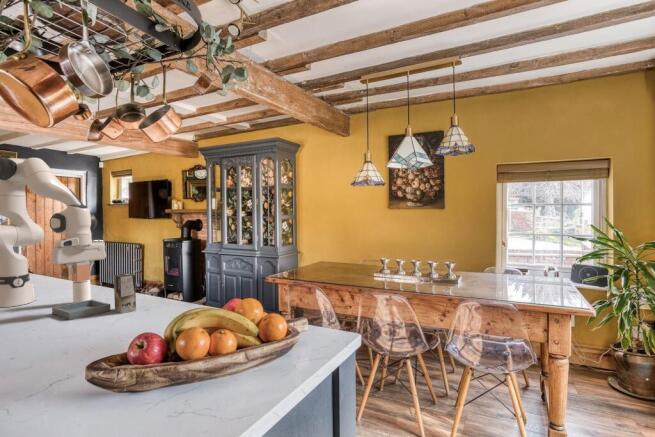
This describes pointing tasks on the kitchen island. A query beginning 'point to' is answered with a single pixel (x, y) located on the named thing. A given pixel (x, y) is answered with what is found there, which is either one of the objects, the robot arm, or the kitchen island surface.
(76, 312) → the tray
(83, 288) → the cylindrical container
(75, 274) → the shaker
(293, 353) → the kitchen island surface
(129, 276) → the coffee box
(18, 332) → the kitchen island surface
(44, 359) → the kitchen island surface
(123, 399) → the kitchen island surface
